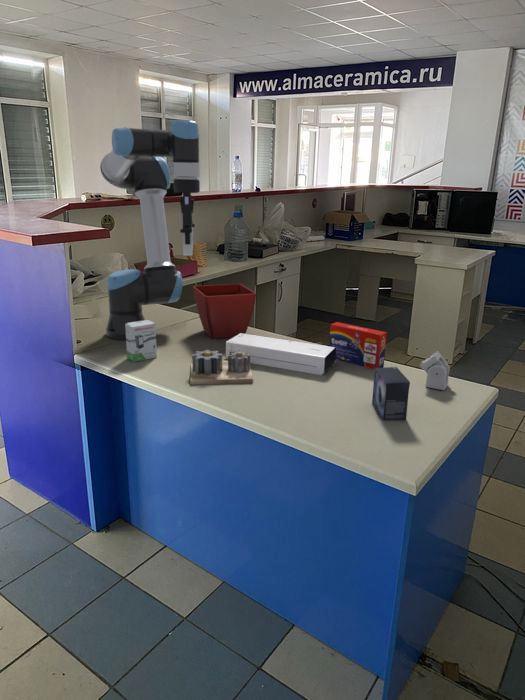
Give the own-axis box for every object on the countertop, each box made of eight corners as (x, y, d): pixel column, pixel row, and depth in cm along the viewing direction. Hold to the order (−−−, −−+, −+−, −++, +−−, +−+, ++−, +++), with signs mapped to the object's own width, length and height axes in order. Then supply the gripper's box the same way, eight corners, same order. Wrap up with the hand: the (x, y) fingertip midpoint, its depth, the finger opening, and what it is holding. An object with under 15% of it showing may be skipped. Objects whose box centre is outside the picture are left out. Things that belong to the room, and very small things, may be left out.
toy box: (383, 367, 168) (387, 332, 165) (377, 370, 165) (381, 335, 162) (334, 354, 179) (336, 321, 175) (328, 357, 176) (330, 324, 172)
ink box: (133, 362, 168) (131, 326, 164) (126, 358, 172) (124, 323, 168) (157, 357, 173) (156, 322, 170) (150, 353, 177) (148, 319, 173)
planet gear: (192, 365, 163) (192, 350, 162) (221, 364, 164) (221, 349, 163) (192, 376, 155) (192, 359, 153) (223, 375, 156) (222, 359, 154)
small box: (369, 403, 142) (373, 366, 138) (393, 402, 142) (397, 366, 139) (381, 421, 132) (385, 382, 128) (407, 420, 132) (411, 381, 129)
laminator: (335, 365, 170) (336, 347, 168) (323, 378, 159) (324, 358, 157) (240, 349, 183) (240, 332, 181) (223, 360, 172) (223, 342, 170)
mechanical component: (444, 391, 150) (448, 358, 147) (416, 386, 154) (420, 353, 151) (447, 385, 155) (452, 353, 151) (421, 380, 158) (424, 348, 155)
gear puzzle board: (191, 365, 167) (190, 344, 165) (248, 363, 169) (248, 343, 167) (190, 384, 152) (190, 362, 150) (252, 382, 154) (253, 361, 152)
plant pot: (240, 324, 212) (240, 282, 206) (256, 338, 195) (257, 293, 190) (193, 328, 205) (192, 285, 200) (206, 342, 189) (205, 296, 183)
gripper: (175, 177, 165) (177, 246, 172) (171, 179, 141) (174, 258, 148) (199, 178, 166) (200, 246, 173) (199, 179, 142) (201, 258, 149)
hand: (188, 252), depth 160 cm, fingers open, 13 cm apart
